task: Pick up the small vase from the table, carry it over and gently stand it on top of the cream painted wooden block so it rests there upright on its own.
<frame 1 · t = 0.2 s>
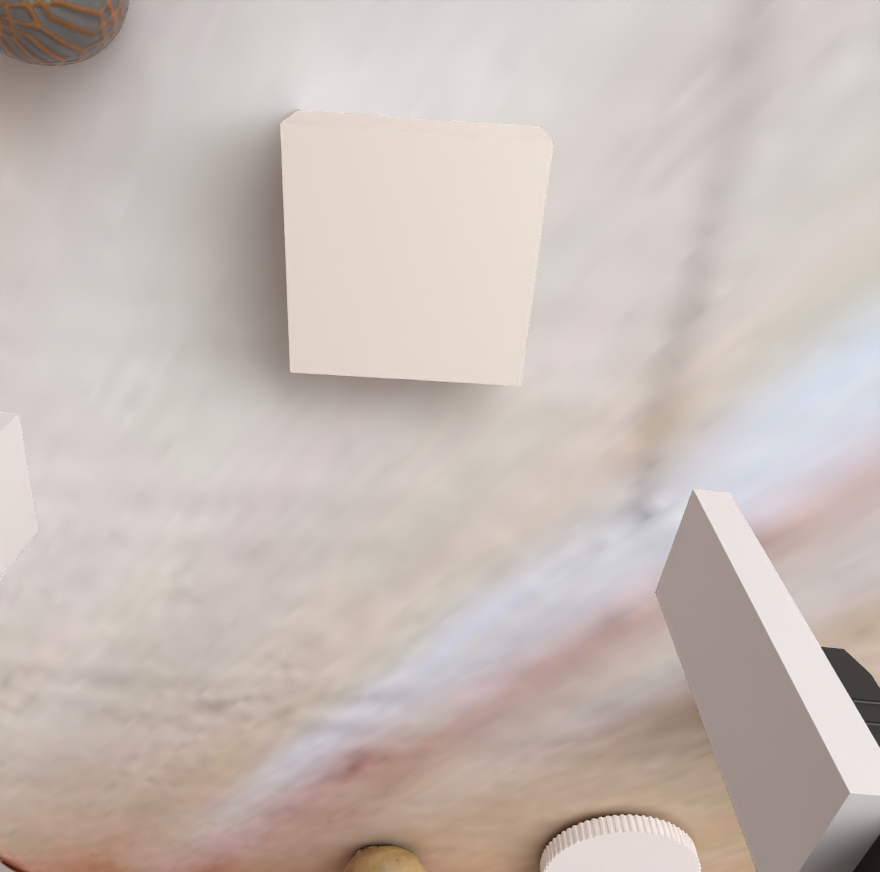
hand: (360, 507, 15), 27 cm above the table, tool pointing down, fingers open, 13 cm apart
riser block: (414, 237, 40), on the table
onion: (385, 854, 69), on the table
plastic lid: (614, 848, 69), on the table
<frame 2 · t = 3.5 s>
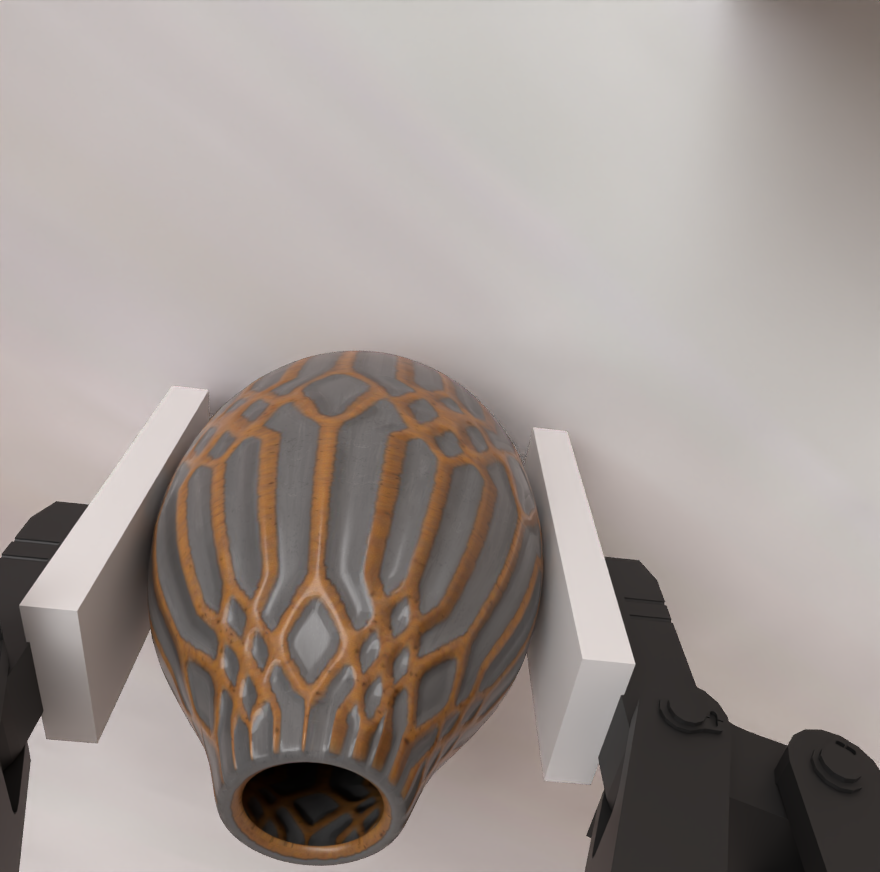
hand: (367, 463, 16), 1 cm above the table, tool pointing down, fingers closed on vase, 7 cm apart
vase: (370, 444, 17), on the table, touching gripper
when the fingers open (6 cm above the table, at t = 10.4 s): vase stays where it is, point 4 cm above the table.
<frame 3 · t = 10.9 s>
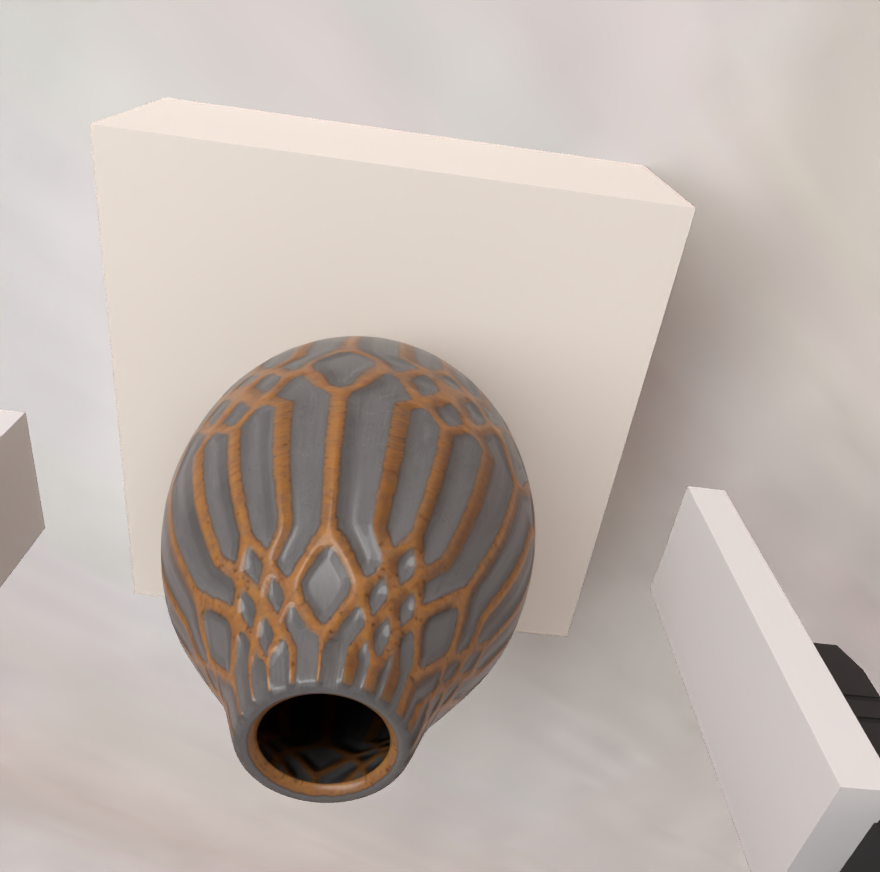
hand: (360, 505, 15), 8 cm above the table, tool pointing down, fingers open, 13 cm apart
riser block: (387, 345, 22), on the table
vase: (368, 432, 18), point 4 cm above the table
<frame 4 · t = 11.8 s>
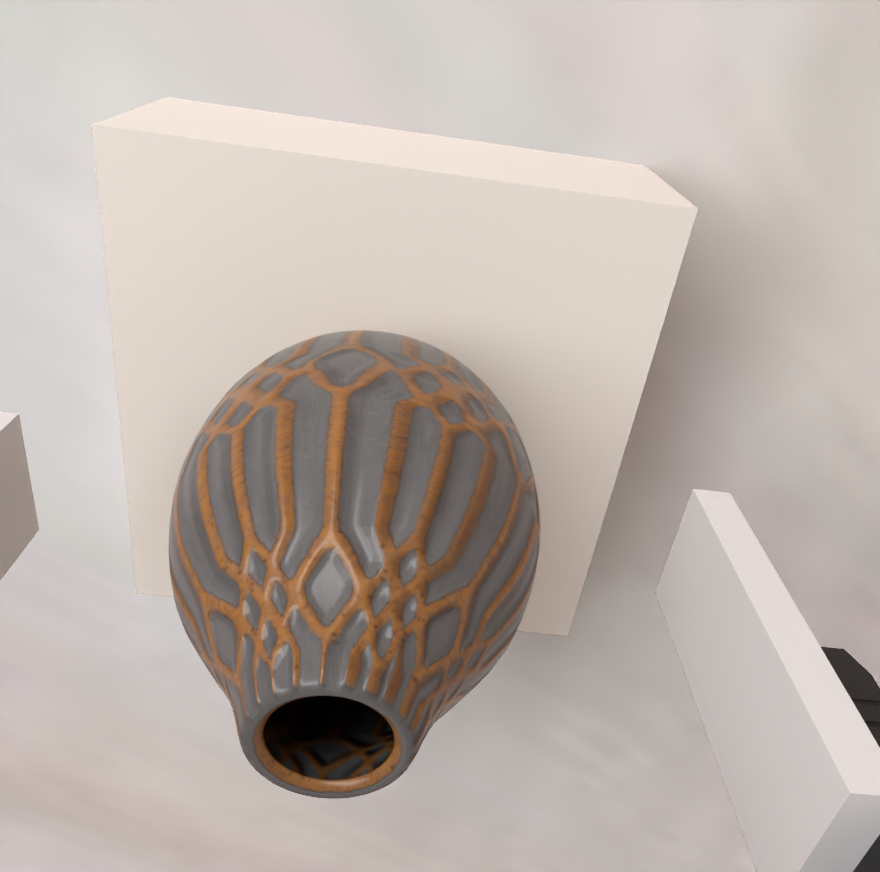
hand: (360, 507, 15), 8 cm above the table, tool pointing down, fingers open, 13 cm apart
riser block: (388, 345, 22), on the table, touching vase
vase: (374, 423, 18), point 4 cm above the table, touching riser block
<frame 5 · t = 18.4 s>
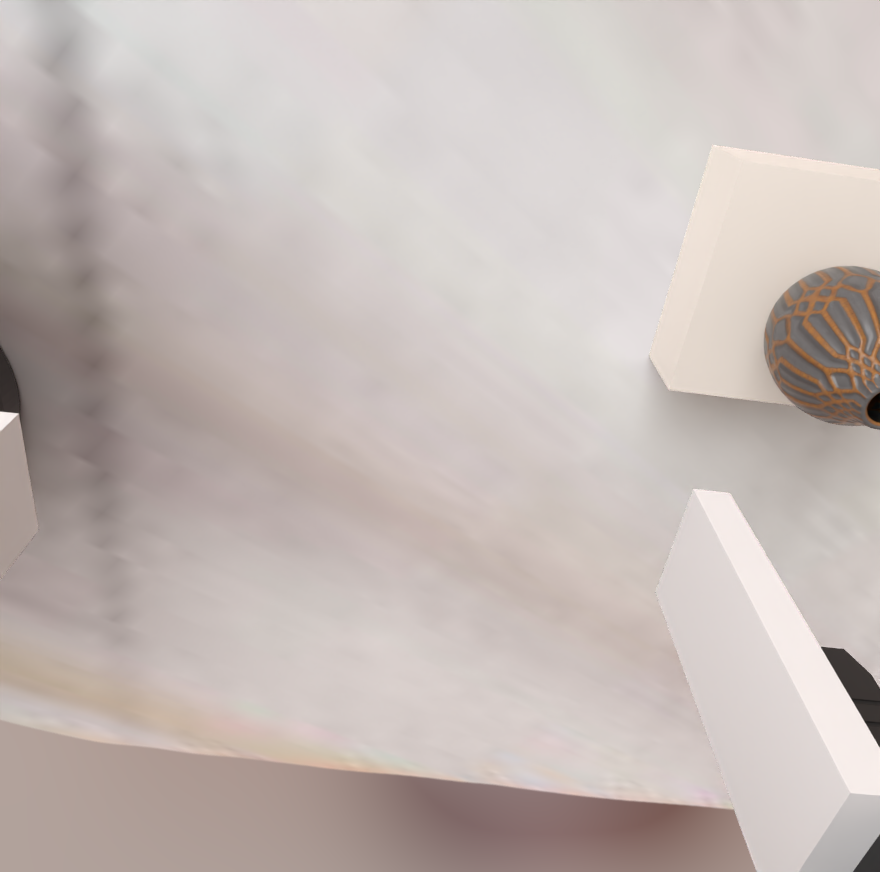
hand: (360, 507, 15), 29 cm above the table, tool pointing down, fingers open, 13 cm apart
riser block: (778, 269, 42), on the table, touching vase
vase: (818, 309, 38), point 5 cm above the table, touching riser block
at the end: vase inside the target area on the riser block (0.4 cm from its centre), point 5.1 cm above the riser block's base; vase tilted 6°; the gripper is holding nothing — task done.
